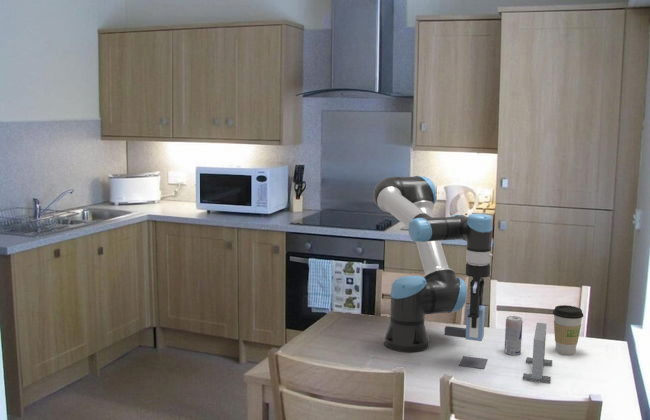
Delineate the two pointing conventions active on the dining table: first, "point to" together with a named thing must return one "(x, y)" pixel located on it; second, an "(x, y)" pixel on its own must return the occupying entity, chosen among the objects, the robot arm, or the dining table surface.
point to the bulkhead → (538, 356)
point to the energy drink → (513, 335)
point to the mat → (473, 362)
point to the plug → (468, 327)
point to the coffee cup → (567, 328)
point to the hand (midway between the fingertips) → (475, 334)
